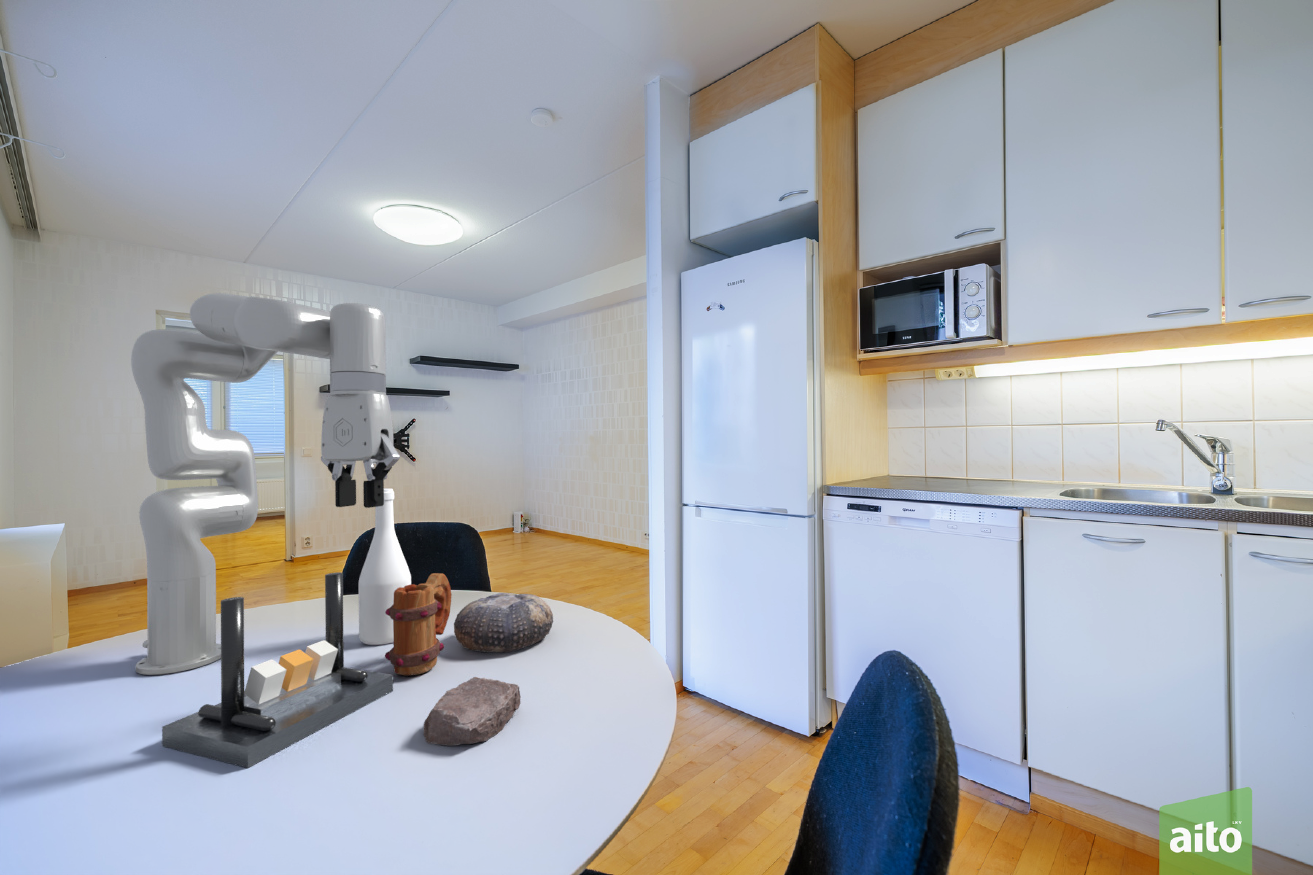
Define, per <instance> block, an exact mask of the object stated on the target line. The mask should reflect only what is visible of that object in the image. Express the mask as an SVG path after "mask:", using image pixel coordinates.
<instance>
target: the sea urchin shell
mask: <svg viewBox="0 0 1313 875" xmlns="http://www.w3.org/2000/svg"><path fill="white" fill-rule="evenodd" d="M553 623H554V615H553V611H552V609H551V607H550V605H548V603H547V602H546V601H545V600H544V599H542V598H541V597H540V596H537V595H536V594H531V593H518V594H515V593H512V592H499V593H495V594H492V595H488V596H486V597H482V598H478V599H477V600H473V601H471V602H469V603H468V604H466V605H465V606H464V607H463V608H461V610H460V611H459V613H458V614H456V618H455V620H454V623H453V633H454V636H455V638H456V641H457V642H458V644H460V645H461V646H462V647H463V648H465V649H467V650H469V651H474V650H476V651H477V652H481V653H490V652H491V653H492V652H494V653H496V652H497V653H507V651H508V652H513V651H518V650H521V649H523V648H525V647H530V646H532V645H535V644H536V643H538V642H540V641H542V640H543V639H545V638H546V637H547V635H548V634H550V632H551V629H552V627H553Z"/></svg>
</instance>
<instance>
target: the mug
mask: <svg viewBox="0 0 1313 875" xmlns="http://www.w3.org/2000/svg"><path fill="white" fill-rule="evenodd" d="M452 595H453V594H452V589H451V585H450V582H449V580H448V578H447V576H446V575H445V574H444V573H439V572H437V573H436V572H435V573H431V574H430V575H429V576H428V578H427V580H426V582H424V583H419V584H418V585H417V584H415V583H413V584H412V583H411V585H407V586H404V588H403V587H399V588H397V589H396V590H395V591H394V603H393V605H392V606H391V607H390V608H388V609H387V610H386V611H385V613H386V614H387V615H388V616H390V618H391V619H393V631H394V642H393V647H392V648H391V649H390V650H389V651H387V652H386V653H385V654H384V658H385V659H386V660H388V661H389V662H390V664H391V665H392V666H393V672H394V673H395V674H396V675H400V676H409V677H411V676H416V675H417V676H418V675H420V674H424V673H427V672H429V671H430V670H432V669H433V668H434V667H435V666H436V665H437V663H438V656H439V655H440V653H441V651H443V650H444V648H445V644H444V643H443V642H441V641H440V640H439V638H437V636H441V635H443V634H444V632H445V629H446V627H447V623H448V620H449V617H450V613H451V607H452V606H451V605H452Z"/></svg>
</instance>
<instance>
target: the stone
mask: <svg viewBox="0 0 1313 875" xmlns="http://www.w3.org/2000/svg"><path fill="white" fill-rule="evenodd" d="M520 692H521V691H520V686H519V685H518V684H516V683H508V682H506V681H501V680H498V679H492V678H486V677H481V678H480V677H477V676H473V677H472V678H470V679H468V680H467V681H464V682H462V683H460V684H458V685H457V686H456V687H453V688H451V689H449V690H446V691H445V693H444V694H443V695H442V696H441V697H440V698H439V699H438V701H437V702H436V703H435V704H434V706H433V707H432V709H431V710H430V712H429V714H428V716H426V719H424V722H423V736H424V740H425V743H427V744H432V745H439V746H440V745H442V746H449V747H450V746H451V747H452V746H459V745H463V744H465V745H471V744H476V743H480V742H486V741H489V739H492V738H494V736H496V735H498V734H499V733H500V732H501V731H503V730H504V728H505V726H506V724H507V722H508V721H510V720H511V718H512V717H513V715H514V713H515V712H516V711H517V710H518V709H520V706H521V693H520Z"/></svg>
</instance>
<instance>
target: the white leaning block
mask: <svg viewBox="0 0 1313 875" xmlns="http://www.w3.org/2000/svg"><path fill="white" fill-rule="evenodd" d="M337 651H338V649H337V648H335V647H334V646H332V645H331V644H329V643H328V642H326V639H324V640H321V641H318V642H315V643H312V644H310V645H307V646H306V650H305V652H304V653H306V654H307V655H308V656H310V657H311V658H313V663H312V666H311V669H310V673H309V676H308V677H310V678H311V679H312V680H316V679H319V678H321V677H323V676H325V675H328V674H330V673H331V671H332V668H333V665H334V661H335V658H336V655H337Z"/></svg>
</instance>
